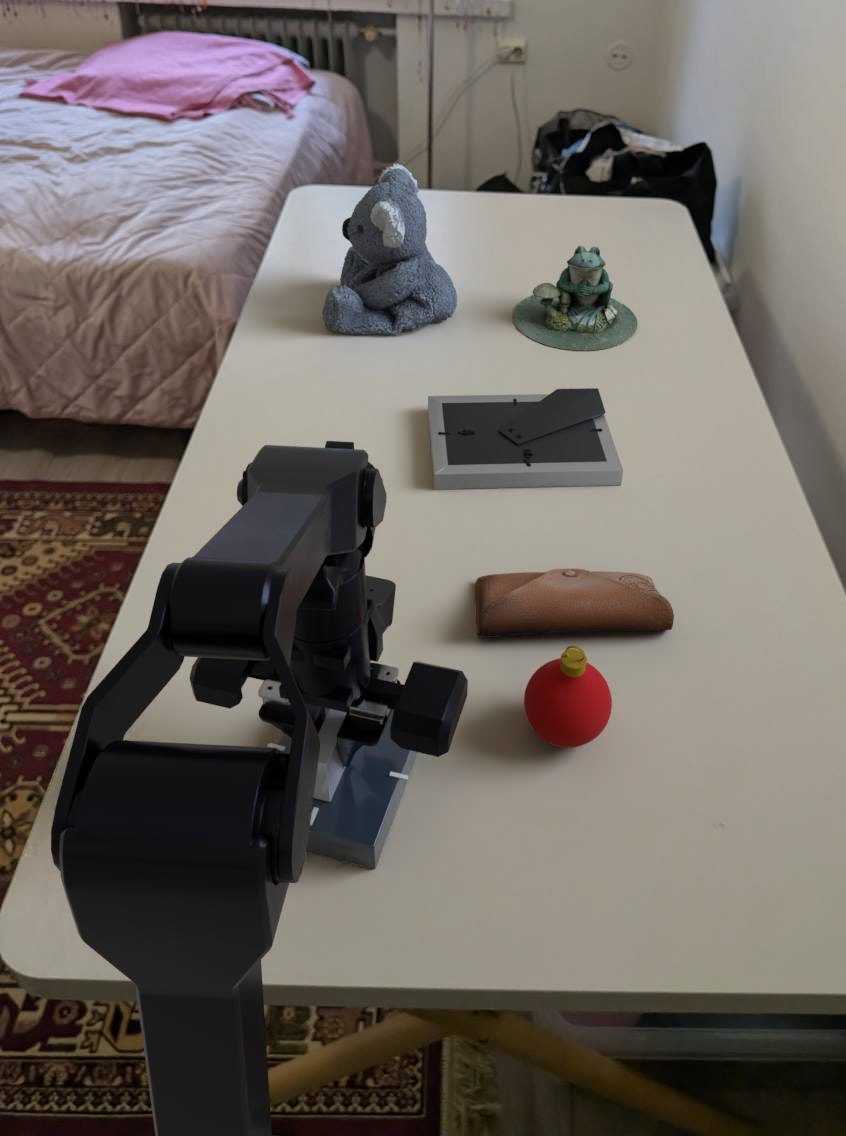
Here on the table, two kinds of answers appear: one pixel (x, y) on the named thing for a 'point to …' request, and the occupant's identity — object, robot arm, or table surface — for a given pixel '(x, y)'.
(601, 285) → the frog figurine
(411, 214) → the koala plush
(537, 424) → the picture frame
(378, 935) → the table surface
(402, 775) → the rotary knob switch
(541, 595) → the sunglasses case
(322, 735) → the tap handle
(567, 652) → the christmas ornament
